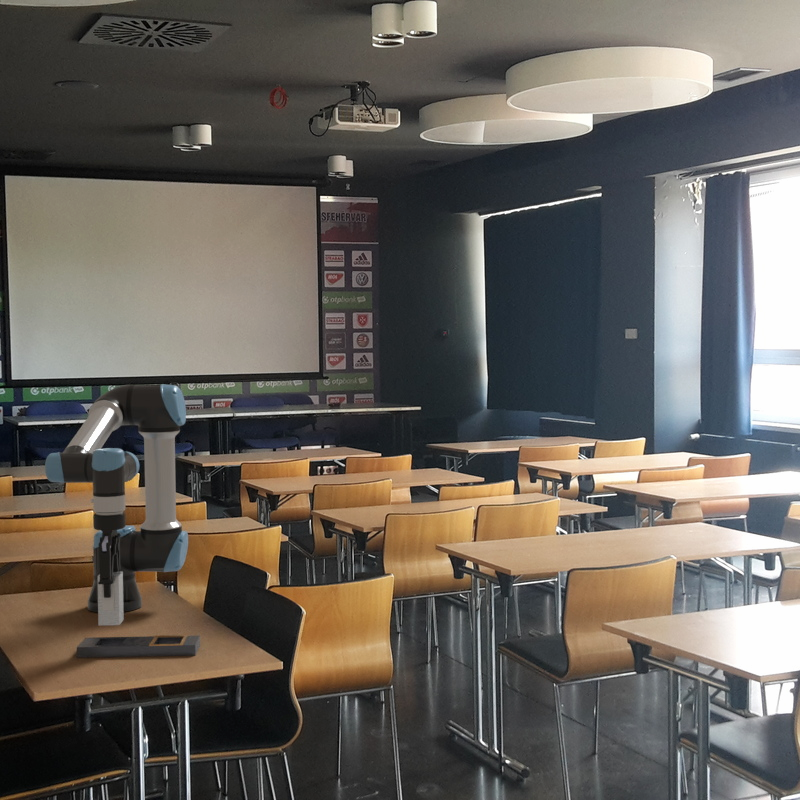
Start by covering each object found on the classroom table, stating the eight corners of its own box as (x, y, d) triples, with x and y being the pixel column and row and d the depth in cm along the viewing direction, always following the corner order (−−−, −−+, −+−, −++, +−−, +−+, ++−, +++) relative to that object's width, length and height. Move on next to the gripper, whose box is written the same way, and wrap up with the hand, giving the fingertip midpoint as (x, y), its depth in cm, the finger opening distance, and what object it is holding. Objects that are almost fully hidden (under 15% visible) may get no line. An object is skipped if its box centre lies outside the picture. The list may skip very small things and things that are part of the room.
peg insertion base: (85, 647, 255) (85, 636, 255) (200, 645, 257) (200, 634, 257) (76, 657, 246) (76, 646, 246) (195, 655, 248) (195, 644, 248)
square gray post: (102, 620, 254) (102, 571, 253) (123, 619, 254) (122, 571, 254) (98, 625, 249) (97, 576, 248) (119, 625, 249) (118, 575, 249)
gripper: (101, 506, 259) (103, 598, 260) (84, 518, 241) (86, 617, 242) (132, 506, 260) (133, 597, 261) (117, 518, 242) (119, 616, 243)
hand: (110, 607), depth 252 cm, fingers closed on square gray post, 5 cm apart
